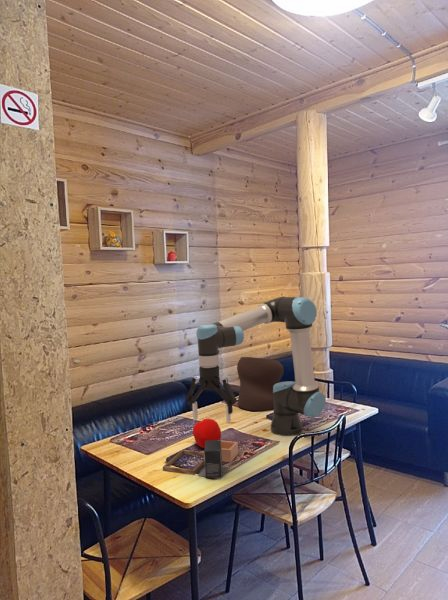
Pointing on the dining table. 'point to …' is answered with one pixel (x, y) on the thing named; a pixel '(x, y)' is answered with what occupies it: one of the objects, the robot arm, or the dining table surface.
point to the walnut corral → (181, 470)
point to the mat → (202, 474)
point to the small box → (213, 459)
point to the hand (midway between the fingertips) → (211, 420)
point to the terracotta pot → (229, 450)
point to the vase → (258, 382)
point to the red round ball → (206, 431)
